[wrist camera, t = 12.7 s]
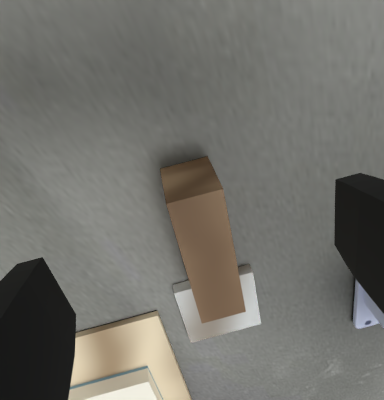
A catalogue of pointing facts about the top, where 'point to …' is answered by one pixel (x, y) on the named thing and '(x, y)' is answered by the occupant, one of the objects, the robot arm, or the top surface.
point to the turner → (207, 254)
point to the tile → (119, 387)
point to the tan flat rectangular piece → (129, 354)
